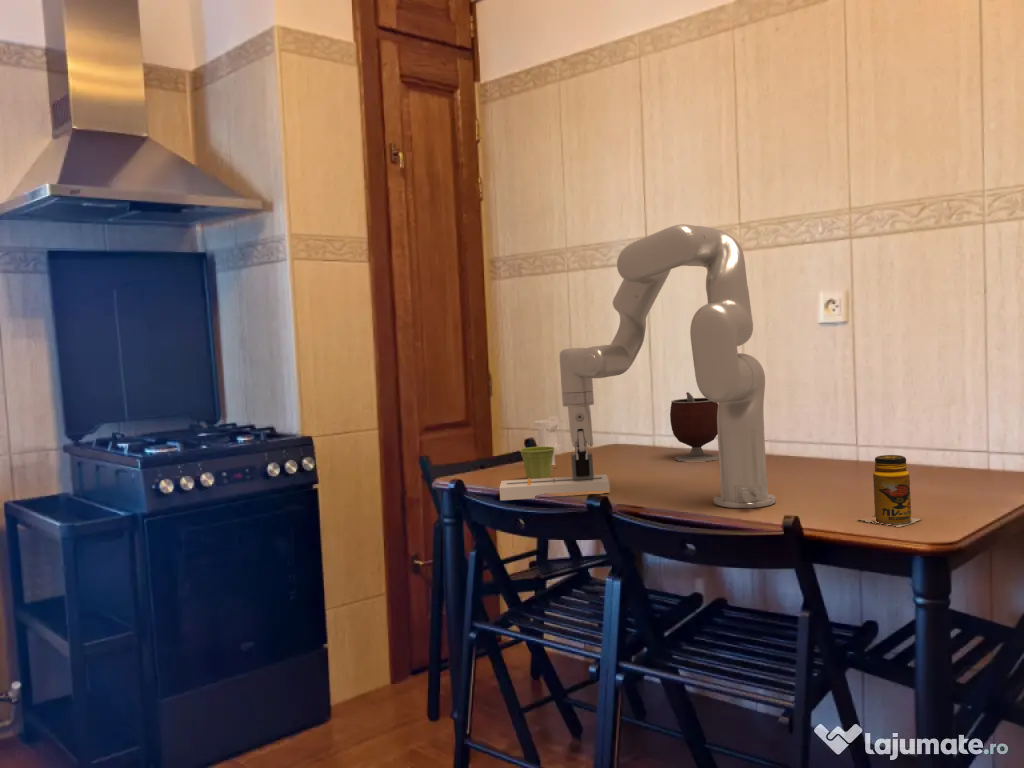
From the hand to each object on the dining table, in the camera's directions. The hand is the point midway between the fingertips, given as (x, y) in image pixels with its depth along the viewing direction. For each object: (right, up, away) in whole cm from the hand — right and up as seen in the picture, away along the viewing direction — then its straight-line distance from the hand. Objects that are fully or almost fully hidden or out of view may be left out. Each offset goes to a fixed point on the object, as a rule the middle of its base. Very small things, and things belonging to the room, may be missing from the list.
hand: (582, 474), depth 204 cm
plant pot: (-10, -4, +20) cm, 22 cm away
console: (-7, -5, +1) cm, 8 cm away
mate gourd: (+36, 0, +38) cm, 52 cm away
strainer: (-6, -3, +39) cm, 40 cm away
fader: (0, -1, 0) cm, 1 cm away
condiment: (+52, -4, -49) cm, 72 cm away
